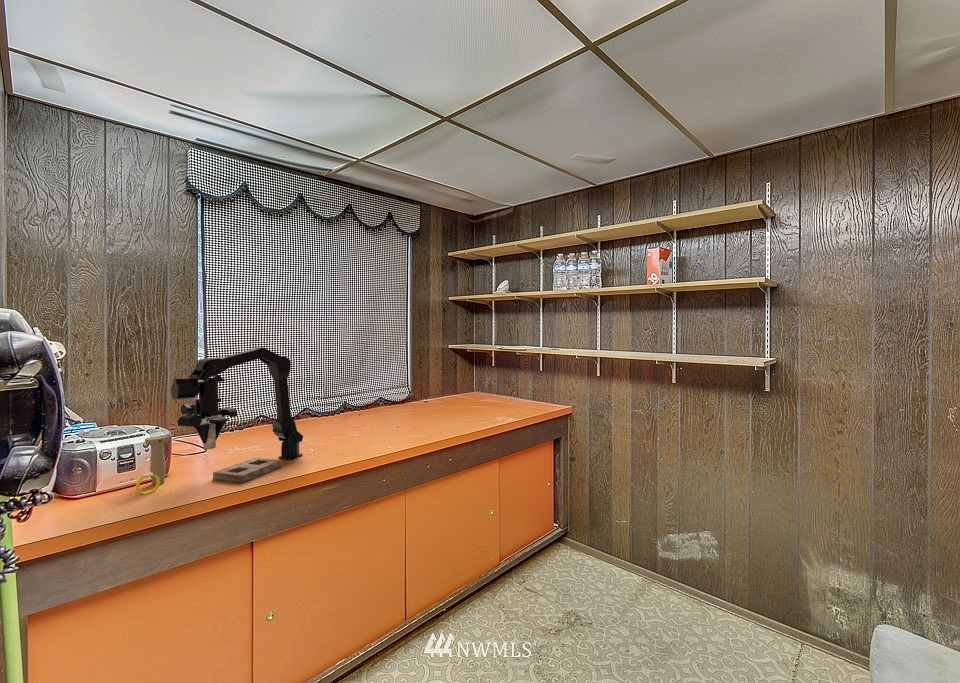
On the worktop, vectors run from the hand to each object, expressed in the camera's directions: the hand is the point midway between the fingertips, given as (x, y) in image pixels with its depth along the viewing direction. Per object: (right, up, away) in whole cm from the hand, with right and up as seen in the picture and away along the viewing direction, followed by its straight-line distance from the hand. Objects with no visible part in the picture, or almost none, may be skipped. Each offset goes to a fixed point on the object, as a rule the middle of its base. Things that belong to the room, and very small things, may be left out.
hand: (209, 442), depth 154 cm
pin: (0, -2, 0) cm, 2 cm away
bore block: (+11, -12, +4) cm, 17 cm away
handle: (-13, -12, -6) cm, 19 cm away
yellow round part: (-10, -13, -14) cm, 22 cm away
